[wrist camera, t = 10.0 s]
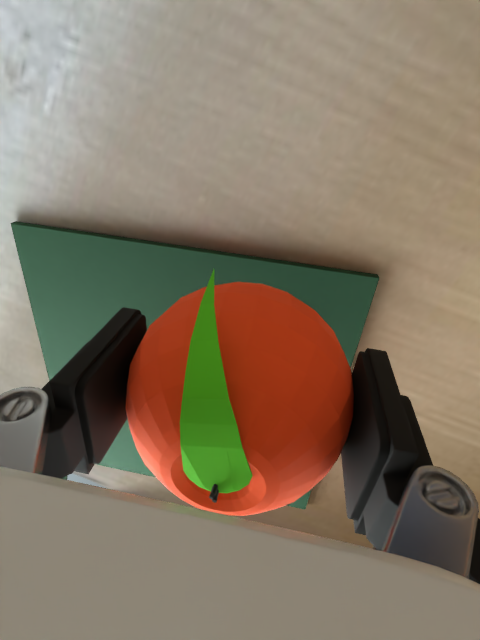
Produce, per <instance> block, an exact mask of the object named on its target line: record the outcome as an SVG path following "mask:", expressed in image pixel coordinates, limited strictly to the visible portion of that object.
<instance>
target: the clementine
mask: <svg viewBox="0 0 480 640" xmlns="http://www.w3.org/2000/svg"><path fill="white" fill-rule="evenodd" d="M353 403H354V391H353V382H352V373H351V369H350V366H349V364H348V361H347V359H346V356H345V354H344V351H343V349H342V347H341V345H340V343H339V341H338V339H337V337H336V335H335V332H334V331H333V329H332V328H331V327H330V326H329V325H328V324H327V323H326V322H325V321H324V320H323V318H322V317H321V316H320V315H319V314H318V313H317V312H316V311H315V310H314V309H312V308H311V307H309V306H308V305H306V304H305V303H303V302H302V301H300V300H299V299H297V298H295V297H294V296H292V295H291V294H289V293H288V292H286V291H283V290H280V289H277V288H274V287H271V286H268V285H265V284H259V283H247V282H233V283H227V284H220V285H214V270H213V272H212V275H211V278H210V280H209V283H208V285H207V287H204V288H201V289H199V290H197V291H195V292H193V293H190V294H188V295H186V296H184V297H181V298H180V299H179V300H178V301H177V302H176V303H175V304H173V305H172V306H171V307H170V308H169V309H168V310H167V311H166V312H164V313H163V314H162V315H161V316H160V317H159V318H158V319H157V320H155V321H154V322H153V323H152V324H151V325H150V326H149V328H148V330H147V332H146V333H145V335H144V337H143V339H142V341H141V342H140V344H139V346H138V348H137V350H136V353H135V355H134V357H133V359H132V361H131V363H130V368H129V375H128V381H127V391H126V413H127V418H128V423H129V428H130V431H131V434H132V437H133V440H134V443H135V446H136V448H137V450H138V452H139V454H140V456H141V458H142V460H143V462H144V463H145V465H146V466H147V467H148V468H149V469H150V471H151V472H152V473H153V474H154V475H155V476H156V477H157V478H158V479H159V480H160V481H161V482H162V483H163V484H164V485H165V486H166V488H167V489H168V490H170V491H171V492H172V493H174V494H175V495H176V496H178V497H179V498H180V499H182V500H183V501H185V502H187V503H189V504H191V505H193V506H195V507H197V508H199V509H202V510H206V511H210V512H215V513H219V514H224V515H237V516H245V515H252V514H258V513H262V512H266V511H270V510H273V509H277V508H279V507H282V506H285V505H287V504H290V503H292V502H295V501H296V500H297V499H299V498H300V497H302V496H303V495H304V494H306V493H307V492H308V491H309V490H311V489H312V488H313V487H314V486H315V485H316V484H317V483H318V482H319V481H321V480H322V479H323V478H324V477H325V476H326V475H327V473H328V472H329V470H330V469H331V468H332V466H333V465H334V463H335V462H336V461H337V459H338V457H339V455H340V453H341V451H342V448H343V446H344V444H345V442H346V440H347V437H348V433H349V430H350V426H351V422H352V418H353Z"/></svg>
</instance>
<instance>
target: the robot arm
mask: <svg viewBox="0 0 480 640" xmlns="http://www.w3.org/2000/svg"><path fill="white" fill-rule="evenodd" d="M146 332H147V327H146V317H145V315H142V314H141V311H140V310H137V309H131V308H125V307H123V308H121V309H120V310H119V311H118V312H117V313H116V314H115V315H114V316H113V317H112V318H111V319H110V321H109V322H108V323H107V324H106V325H105V326H104V327H103V328H102V329H101V330H100V331H99V332H98V333H97V334H96V335H95V336H94V337H93V338H92V339H91V340H90V341H89V342H87V343H86V344H85V345H84V346H83V347H82V348H81V349H80V350H79V351H78V352H77V353H76V354H75V355H74V357H73V358H72V359H71V360H70V361H69V362H68V363H67V364H66V365H65V366H64V367H63V368H62V369H61V370H60V371H59V372H58V373H57V374H56V375H55V376H54V377H53V378H52V379H51V380H50V381H49V382H48V383H47V384H46V385H45V386H44V387H43V388H42V389H39V388H35V387H21V388H16V389H12V390H10V391H7V392H5V393H3V394H1V395H0V640H480V519H479V518H478V512H479V510H478V502H477V500H476V497H475V495H474V493H473V492H472V491H471V489H470V488H469V487H468V485H467V484H466V483H464V482H463V481H462V480H461V479H460V478H459V477H457V476H456V475H454V474H453V473H451V472H450V471H448V470H445V469H443V468H440V467H436V466H433V464H432V461H431V458H430V456H429V453H428V450H427V447H426V444H425V441H424V438H423V436H422V433H421V430H420V427H419V424H418V421H417V418H416V416H415V413H414V410H413V407H412V404H411V401H410V400H409V398H408V397H407V396H403V395H400V392H399V389H398V386H397V383H396V380H395V377H394V374H393V371H392V368H391V365H390V361H389V358H388V355H387V353H386V351H381V350H375V349H369V348H367V349H366V351H365V352H359V354H358V357H357V360H356V363H355V366H354V369H353V372H352V382H353V391H354V403H353V418H352V422H351V426H350V430H349V433H348V437H347V440H346V442H345V444H344V446H343V448H342V451H341V455H342V466H343V477H344V488H345V499H346V509H347V516H348V518H349V519H353V520H354V528H355V533H358V534H363V535H366V538H367V539H368V540H369V541H370V542H371V543H372V544H373V549H371V548H367V547H363V546H358V545H354V544H350V543H346V542H342V541H338V540H334V539H329V538H325V537H321V536H316V535H312V534H307V533H303V532H299V531H294V530H290V529H286V528H281V527H277V526H272V525H268V524H264V523H259V522H255V521H251V520H246V519H242V518H237V517H233V516H228V515H224V514H219V513H215V512H210V511H206V510H201V509H197V508H193V507H188V506H183V505H179V504H174V503H170V502H165V501H161V500H156V499H152V498H147V497H143V496H138V495H134V494H129V493H125V492H120V491H115V490H111V489H106V488H102V487H96V486H92V485H88V484H83V483H78V482H74V481H69V480H67V475H69V474H72V473H73V471H76V472H81V473H85V474H89V472H90V471H91V469H92V467H93V466H94V464H99V463H100V462H101V461H102V460H103V458H104V456H105V455H106V453H107V451H108V450H109V448H110V446H111V445H112V443H113V441H114V440H115V438H116V436H117V435H118V433H119V431H120V430H121V428H122V426H123V425H124V423H125V421H126V420H127V413H126V391H127V381H128V375H129V368H130V363H131V361H132V359H133V357H134V355H135V353H136V350H137V348H138V346H139V344H140V342H141V341H142V339H143V337H144V335H145V333H146Z"/></svg>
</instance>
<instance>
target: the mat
mask: <svg viewBox="0 0 480 640" xmlns="http://www.w3.org/2000/svg"><path fill="white" fill-rule="evenodd" d="M11 226H12V230H13V234H14V239H15V243H16V247H17V251H18V255H19V259H20V263H21V267H22V271H23V275H24V279H25V283H26V287H27V291H28V295H29V299H30V303H31V307H32V312H33V316H34V320H35V324H36V328H37V332H38V336H39V340H40V344H41V348H42V352H43V356H44V360H45V364H46V368H47V372H48V376H49V380H51V379H52V378H53V377H54V376H55V375H56V374H57V373H58V372H59V371H60V370H61V369H62V368H63V367H64V366H65V365H66V364H67V363H68V362H69V361H70V360H71V359H72V358H73V357H74V355H75V354H76V353H77V352H78V351H79V350H80V349H81V348H82V347H83V346H84V345H85V344H86V343H87V342H89V341H90V340H91V339H92V338H93V337H94V336H95V335H96V334H97V333H98V332H99V331H100V330H101V329H102V328H103V327H104V326H105V325H106V324H107V323H108V322H109V321H110V319H111V318H112V317H113V316H114V315H115V314H116V313H117V312H118V311H119V310H120V309H121V308H123V307H125V308H131V309H137V310H140V311H141V314H142V315H145V317H146V327H147V330H148V328H149V326H150V325H151V324H152V323H153V322H154V321H155V320H157V319H158V318H159V317H160V316H161V315H162V314H163V313H164V312H166V311H167V310H168V309H169V308H170V307H171V306H172V305H173V304H175V303H176V302H177V301H178V300H179V299H180V298H181V297H184V296H186V295H188V294H190V293H193V292H195V291H197V290H199V289H201V288H204V287H207V285H208V283H209V280H210V278H211V275H212V272H213V270H214V285H220V284H227V283H233V282H247V283H259V284H265V285H268V286H271V287H274V288H277V289H280V290H283V291H286V292H288V293H289V294H291V295H292V296H294V297H295V298H297V299H299V300H300V301H302V302H303V303H305V304H306V305H308V306H309V307H311V308H312V309H314V310H315V311H316V312H317V313H318V314H319V315H320V316H321V317H322V318H323V320H324V321H325V322H326V323H327V324H328V325H329V326H330V327H331V328H332V329H333V331H334V332H335V335H336V337H337V339H338V341H339V343H340V345H341V347H342V349H343V351H344V354H345V356H346V359H347V361H348V364H349V366H350V368H351V365H352V362H353V359H354V356H355V352H356V349H357V346H358V343H359V340H360V337H361V334H362V331H363V327H364V324H365V321H366V318H367V315H368V312H369V309H370V306H371V303H372V299H373V296H374V293H375V290H376V287H377V284H378V281H379V276H378V275H377V274H370V273H363V272H356V271H350V270H343V269H336V268H329V267H322V266H316V265H309V264H302V263H295V262H288V261H282V260H275V259H268V258H261V257H255V256H248V255H241V254H234V253H227V252H221V251H214V250H207V249H200V248H193V247H187V246H180V245H173V244H166V243H159V242H153V241H146V240H139V239H132V238H125V237H119V236H112V235H105V234H98V233H91V232H85V231H78V230H71V229H64V228H57V227H51V226H44V225H37V224H30V223H23V222H17V221H16V222H13V223H11ZM97 465H102V466H106V467H111V468H116V469H120V470H125V471H130V472H134V473H139V474H143V475H148V476H153V477H156V476H155V475H154V474H153V473H152V472H151V471H150V469H149V468H148V467H147V466H146V465H145V463H144V462H143V460H142V458H141V456H140V454H139V452H138V450H137V448H136V446H135V443H134V440H133V437H132V434H131V431H130V428H129V423H128V418H127V420H126V421H125V423H124V425H123V426H122V428H121V430H120V431H119V433H118V435H117V436H116V438H115V440H114V441H113V443H112V445H111V446H110V448H109V450H108V451H107V453H106V455H105V456H104V458H103V460H102V461H101V462H100V463H99V464H97ZM311 490H312V489H311ZM311 490H309V491H308V492H307V493H306V494H304V495H303V496H302V497H300V498H299V499H297V500H296V501H295V502H292V503H290V504H287V506H291V507H296V508H301V509H305V508H306V505H307V502H308V499H309V496H310V493H311Z"/></svg>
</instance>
